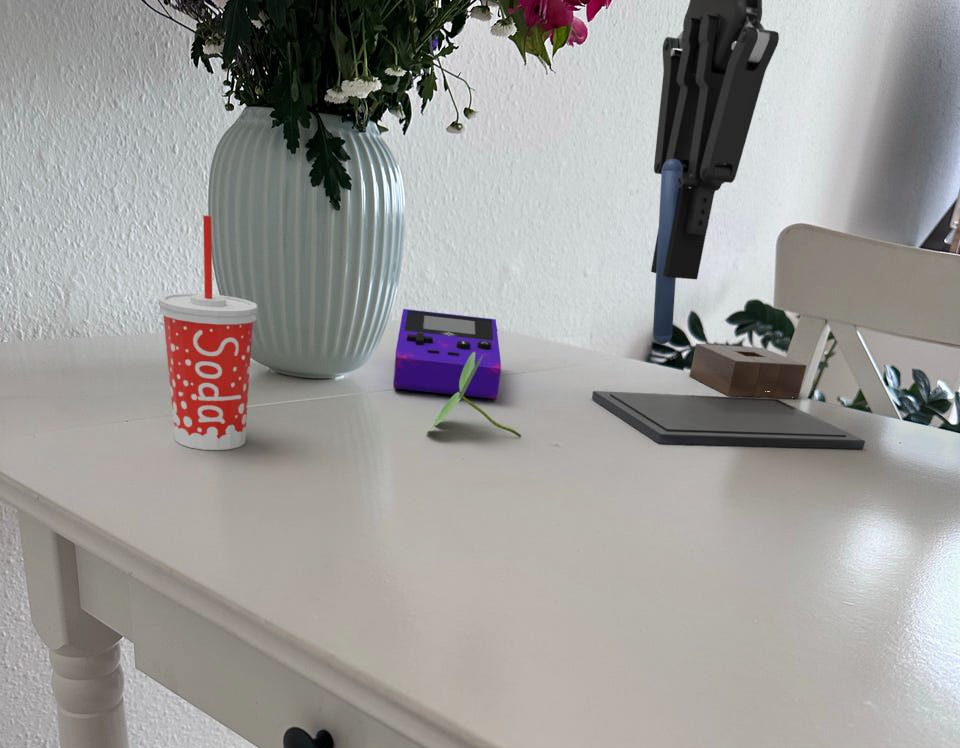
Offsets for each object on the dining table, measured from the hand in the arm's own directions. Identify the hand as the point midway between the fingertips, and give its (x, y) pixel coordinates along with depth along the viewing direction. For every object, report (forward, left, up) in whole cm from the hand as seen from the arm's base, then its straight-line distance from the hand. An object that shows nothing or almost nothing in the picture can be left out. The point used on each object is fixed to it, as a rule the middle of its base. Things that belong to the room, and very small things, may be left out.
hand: (673, 275), depth 79 cm
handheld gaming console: (+15, -12, -12) cm, 23 cm away
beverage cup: (+37, +9, -12) cm, 40 cm away
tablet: (-8, 0, -12) cm, 14 cm away
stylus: (0, 0, -5) cm, 5 cm away
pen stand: (-19, -15, -12) cm, 27 cm away
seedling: (+18, +6, -12) cm, 23 cm away
